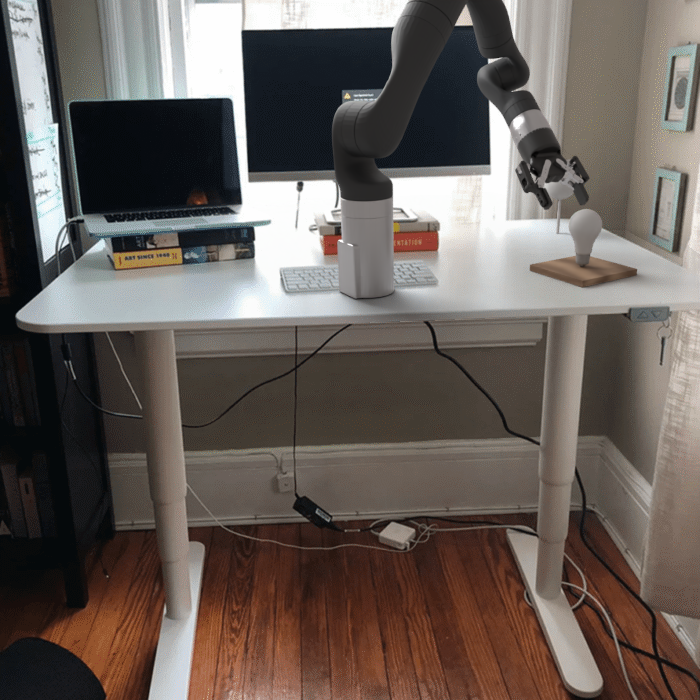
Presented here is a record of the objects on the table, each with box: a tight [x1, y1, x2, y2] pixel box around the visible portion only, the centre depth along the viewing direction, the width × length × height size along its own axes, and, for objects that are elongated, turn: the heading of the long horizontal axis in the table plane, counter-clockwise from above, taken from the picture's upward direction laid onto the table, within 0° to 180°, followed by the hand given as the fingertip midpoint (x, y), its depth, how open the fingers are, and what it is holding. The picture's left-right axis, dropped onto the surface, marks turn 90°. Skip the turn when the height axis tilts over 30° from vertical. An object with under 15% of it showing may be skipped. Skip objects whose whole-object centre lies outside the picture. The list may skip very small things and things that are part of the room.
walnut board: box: [529, 255, 638, 288], centre depth 153 cm, size 14×14×1 cm
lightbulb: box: [568, 208, 603, 267], centre depth 151 cm, size 6×6×11 cm
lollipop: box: [544, 172, 575, 234], centre depth 182 cm, size 7×7×15 cm
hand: (567, 205), depth 153 cm, fingers open, 8 cm apart
